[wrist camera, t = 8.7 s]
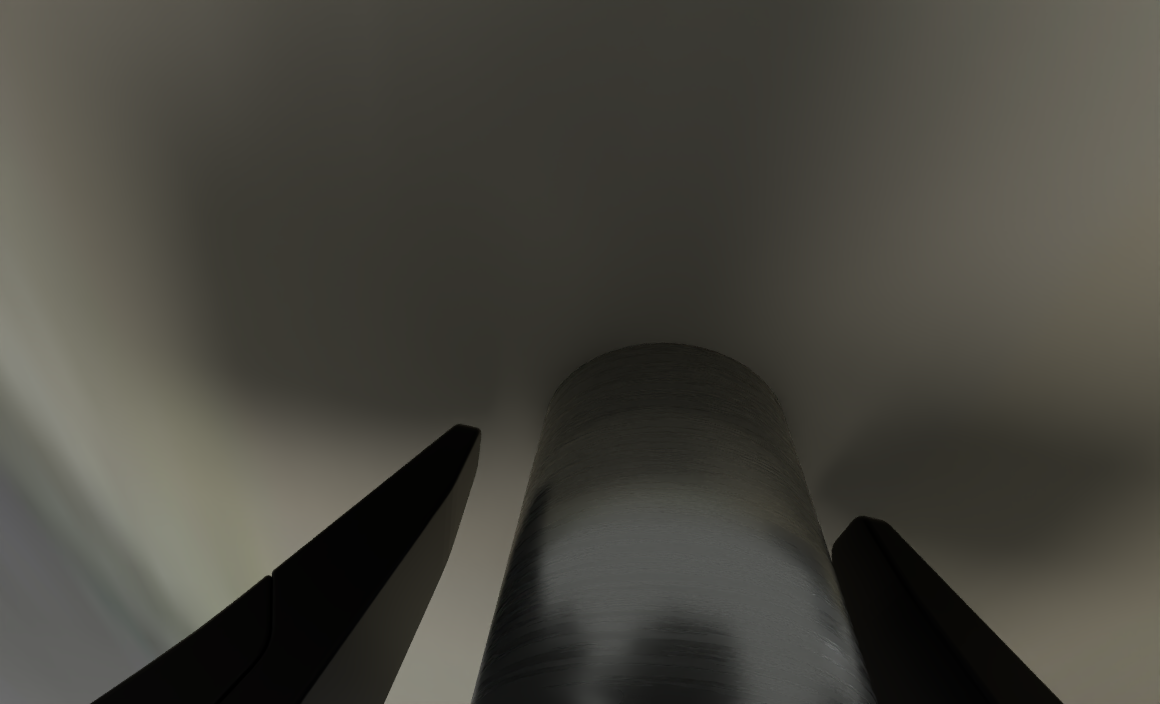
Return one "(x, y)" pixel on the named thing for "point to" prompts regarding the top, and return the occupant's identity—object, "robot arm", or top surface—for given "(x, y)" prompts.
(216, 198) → the top surface
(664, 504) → the cylinder
